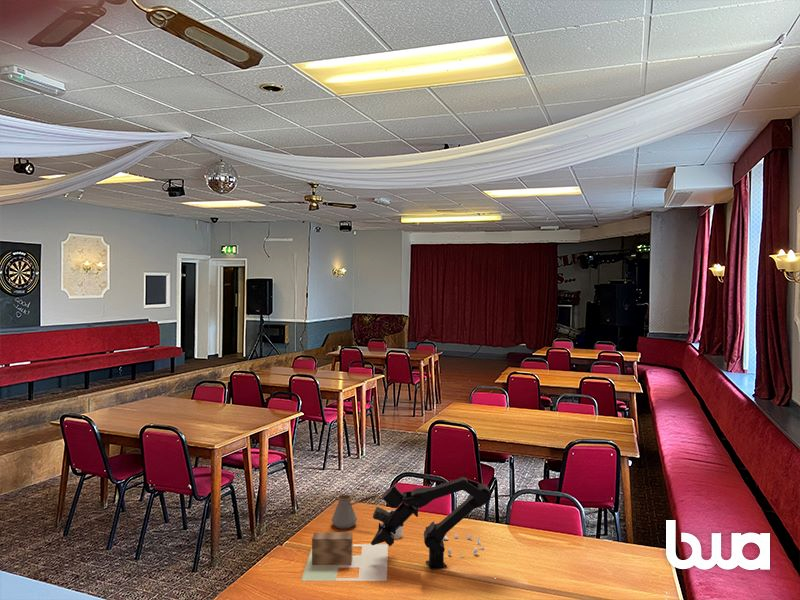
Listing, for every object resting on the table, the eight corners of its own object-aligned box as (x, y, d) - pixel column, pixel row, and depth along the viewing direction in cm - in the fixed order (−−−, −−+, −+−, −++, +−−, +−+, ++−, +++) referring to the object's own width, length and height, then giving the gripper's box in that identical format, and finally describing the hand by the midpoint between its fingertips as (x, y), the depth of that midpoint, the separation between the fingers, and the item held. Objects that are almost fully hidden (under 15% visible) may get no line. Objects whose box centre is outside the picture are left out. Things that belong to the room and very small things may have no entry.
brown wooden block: (352, 557, 230) (352, 532, 229) (351, 564, 224) (351, 539, 223) (314, 557, 230) (314, 532, 229) (311, 564, 224) (311, 539, 223)
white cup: (395, 541, 248) (395, 518, 247) (381, 536, 252) (381, 513, 252) (406, 535, 254) (407, 512, 254) (392, 530, 259) (392, 508, 258)
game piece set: (492, 553, 238) (492, 544, 237) (448, 562, 230) (448, 552, 230) (469, 534, 256) (469, 526, 255) (428, 542, 248) (428, 533, 248)
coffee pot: (328, 529, 260) (328, 496, 259) (335, 519, 271) (335, 487, 271) (374, 533, 255) (374, 499, 255) (380, 523, 267) (380, 490, 266)
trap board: (387, 547, 242) (387, 544, 242) (386, 584, 212) (386, 580, 212) (312, 547, 242) (312, 544, 241) (301, 584, 212) (301, 580, 211)
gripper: (385, 492, 235) (358, 520, 236) (384, 510, 217) (355, 540, 217) (405, 512, 236) (378, 539, 236) (406, 531, 217) (376, 561, 217)
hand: (371, 544), depth 226 cm, fingers closed
